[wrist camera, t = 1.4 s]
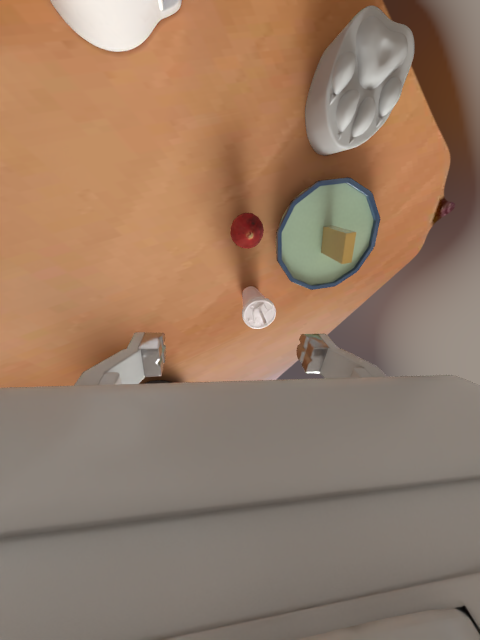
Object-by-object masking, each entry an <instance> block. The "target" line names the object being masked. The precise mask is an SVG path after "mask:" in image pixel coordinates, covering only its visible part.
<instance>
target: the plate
mask: <svg viewBox="0 0 480 640" xmlns="http://www.w3.org/2000/svg"><path fill="white" fill-rule="evenodd" d="M379 222H380V216H379V213H378V210H377V207H376V203H375V200H374V197H373V194H372V193H371V191H369V190H368V189H366V188H365V187H363V186H362V185H360V184H359V183H357V182H356V181H354V180H353V179H351V178H349V177H347V178H338V179H330V180H321V181H317V182H316V183H314V184H313V185H312V186H310V187H308V188H307V189H306V190H304V191H303V192H301V193H300V194H299V195H298V196H297V197H296V198H295V199H294V200H292V201H291V203H290V205H289V207H288V208H287V209H286V211H285V213H284V215H283V217H282V219H281V221H280V224H279V227H278V229H277V232H276V233H277V236H276V253H277V261H278V263H279V264H280V266H281V268H282V269H283V271H284V272H285V274H286V275H287V277H288V278H289V280H290V281H291V282H294V283H296V284H299V285H301V286H303V287H306V288H308V289H312V290H313V289H320V288H327V287H333V286H336V285H338V284H339V283H341V282H342V281H344V280H345V279H347V278H348V277H350V276H351V275H353V274H354V273H356V272H357V271H358V270H359V269H360V267H361V266H362V264H363V263H364V261H365V260H366V258H367V257H368V256H369V254H370V253H371V251H372V250H373V247H374V246H375V241H376V237H377V232H378V227H379Z"/></svg>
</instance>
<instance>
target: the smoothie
mask: <svg viewBox="0 0 480 640" xmlns="http://www.w3.org/2000/svg"><path fill="white" fill-rule="evenodd" d="M242 297H243V310H242V317H243V320H244V322H245V323H246V324H247V325H248V326H249V327H251V328H255V329H260V328H264V327H266V326H268V325H269V324H271V323H272V321H273V320H274V318H275V315H276V310H275V307H274V304H273V303H272V302H271V301H270V300H269V299H267V298H265V297H264V296H263V295H262V294H261V293H260V292H259V290H258V289H257V288H255V287H253V286H249V287H247V288H245V289H244V290H243V293H242Z"/></svg>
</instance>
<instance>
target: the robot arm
mask: <svg viewBox="0 0 480 640" xmlns="http://www.w3.org/2000/svg"><path fill="white" fill-rule="evenodd" d="M50 1H51V3H52V4H53V6H54V7H55V9H56V10H57V12H58V13H59V14H60V16H61V17H62V18H63V19H64V20H65V22H66V23H67V24H68V25H69V26H70V27H71V28H72V29H73V30H74V31H75V32H76V33H77V34H79V35H80V36H81V37H82V38H84V39H85V40H86V41H88V42H90V43H91V44H93V45H95V46H97V47H99V48H102V49H105V50H109V51H116V52H121V51H127V50H131V49H133V48H135V47H137V46H139V45H140V44H142V43H143V42H144V41H145V40H146V39H147V38H148V37H149V35H150V34H151V32H152V31H153V29H154V28H155V26H156V25H157V24H158V22H159V21H160V20H161V19H164V18H166V17H168V16H171V15H172V14H174V13H176V12H177V11H178V10H179V8H180V7H181V3H182V0H50ZM299 340H300V342H301V343H300V344H299V345H298V347H297V357H298V359H299V361H301V362H302V366H303V368H304V370H305V372H306V373H320V374H321V375H322V376H323V377H324V378H326V379H292V380H257V381H222V382H186V383H151V384H139V383H140V382H141V381H142V380H143V379H144V378H145V377H156V376H161V375H162V371H163V363H164V362H165V358H166V346H165V345H164V342H165V334H164V333H151V332H146V333H145V332H136V333H134V335H133V337H132V339H131V341H130V343H129V345H128V347H127V349H123V350H121V351H120V352H118V353H116V354H114V355H113V356H111V357H109V358H107V359H106V360H104V361H102V362H100V363H99V364H97V365H95V366H93V367H91V368H90V369H88V370H86V371H84V372H83V373H82V375H81V376H80V378H79V379H78V381H77V382H76V384H75V385H74V386H45V387H9V388H0V640H480V385H478V384H475V383H473V382H471V381H468V380H466V379H463V378H460V377H457V376H453V375H435V376H434V375H433V376H400V377H387V376H386V375H385V374H384V373H383V372H382V371H381V370H380V368H378V367H377V366H375V365H373V364H371V363H369V362H367V361H365V360H363V359H361V358H359V357H357V356H355V355H353V354H351V353H349V352H347V351H345V350H343V349H341V348H338V347H337V346H336V345H335V344H334V343H333V342H332V340H331V339H330V338H329V337H328V336H327V335H326V334H302V335H301V336H300V339H299Z"/></svg>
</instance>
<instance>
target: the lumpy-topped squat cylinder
mask: <svg viewBox="0 0 480 640" xmlns="http://www.w3.org/2000/svg"><path fill="white" fill-rule="evenodd" d="M413 56H414V38H413V34H412V32H411V30H410V29H409V28H408V27H407V26H405V25H403V24H399V23H395V22H393V21H391V20H390V19H389V18H388V17H387V16H386V15H385V14H384V13H383V12H382V11H381V10H380V9H379V8H377V7H375V6H368V7H365V8H364V9H362V10H361V11H360V12H359V13H357V14H356V15H355V16H354V18H353V19H352V20H351V21H350V22H349V23H348V24H347V26H346V27H345V28H344V29H343V30H342V31H341V32H340V34H339V35H338V36H337V37H336V38H335V39H334V40H333V42H332V43H331V44H330V45H329V46H328V47H327V49H326V50H325V51H324V53H323V55H322V57H321V59H320V61H319V64H318V66H317V69H316V71H315V74H314V77H313V80H312V83H311V86H310V90H309V93H308V97H307V101H306V106H305V123H306V131H307V136H308V139H309V142H310V144H311V146H312V148H313V149H314V151H315V152H316V153H318V154H320V155H330V154H334V153H337V152H341V151H345V150H348V149H352V148H355V147H357V146H359V145H361V144H363V143H364V142H366V141H367V140H368V139H369V138H370V137H371V136H372V135H374V134H375V133H376V132H377V131H378V129H379V128H380V127H381V126H382V125H383V124H384V123H385V121H386V120H387V118H388V116H389V115H390V113H391V111H392V109H393V107H394V106H395V104H396V103H397V101H398V100H399V98H400V95H401V92H402V87H403V85H404V82H405V80H406V77H407V75H408V72H409V69H410V67H411V63H412V60H413Z"/></svg>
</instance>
